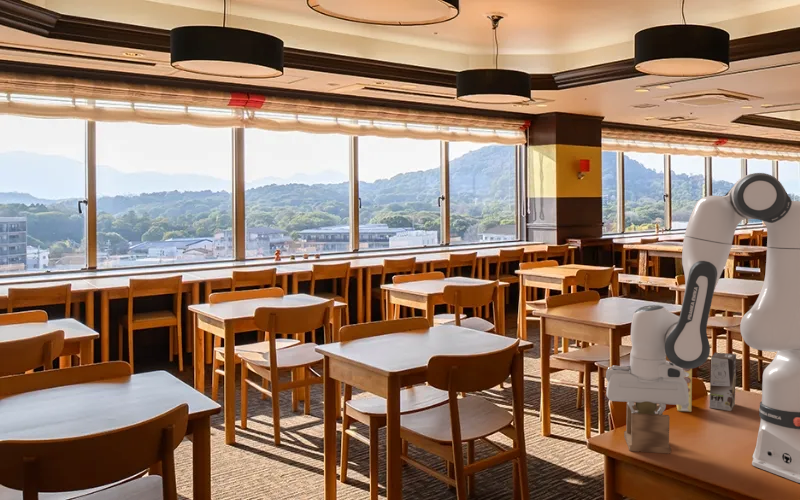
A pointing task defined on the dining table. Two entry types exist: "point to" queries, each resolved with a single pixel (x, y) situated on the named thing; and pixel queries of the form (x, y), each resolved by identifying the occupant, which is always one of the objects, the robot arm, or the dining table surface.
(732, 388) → the coffee box
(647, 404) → the cork
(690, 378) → the candy box
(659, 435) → the caddy
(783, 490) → the dining table surface
